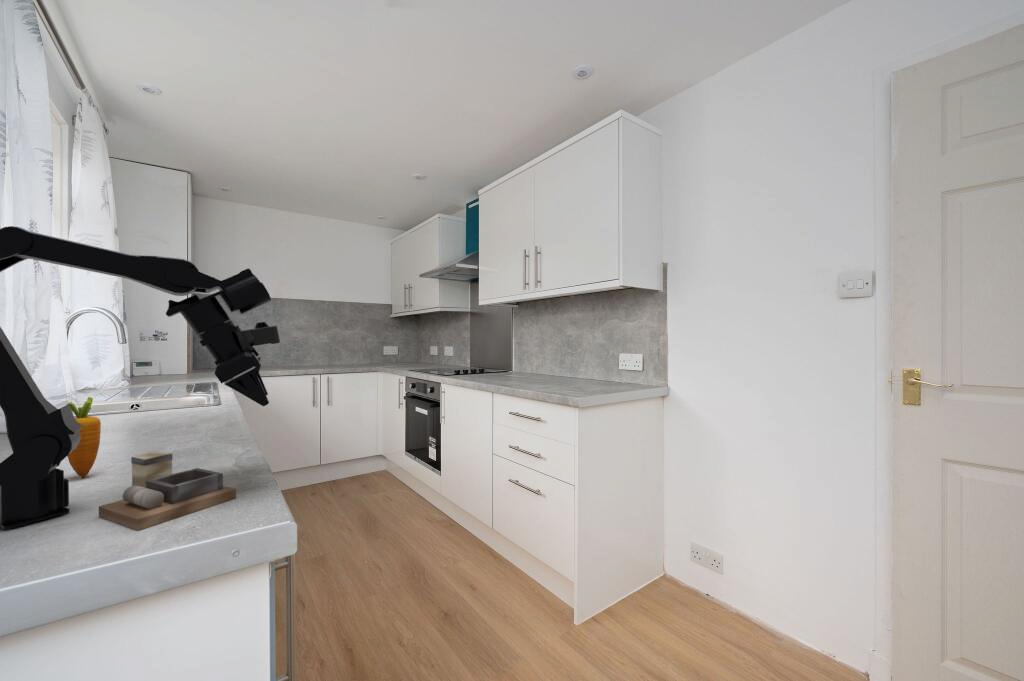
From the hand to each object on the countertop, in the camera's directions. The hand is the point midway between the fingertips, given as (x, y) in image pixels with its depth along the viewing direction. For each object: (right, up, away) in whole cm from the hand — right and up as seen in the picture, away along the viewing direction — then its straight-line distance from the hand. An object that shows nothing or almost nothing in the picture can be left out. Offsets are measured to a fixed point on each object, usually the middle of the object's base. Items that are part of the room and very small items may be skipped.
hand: (265, 400), depth 80 cm
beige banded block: (-16, -15, -6) cm, 22 cm away
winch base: (-6, -14, -14) cm, 21 cm away
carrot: (-35, -15, +1) cm, 38 cm away
